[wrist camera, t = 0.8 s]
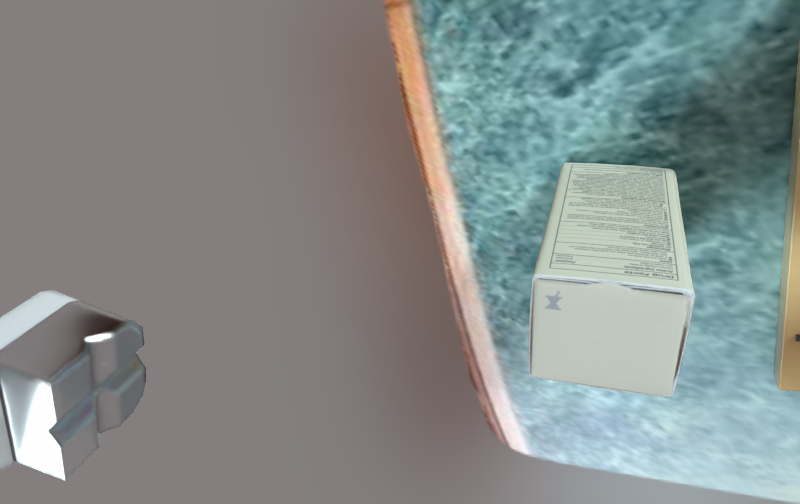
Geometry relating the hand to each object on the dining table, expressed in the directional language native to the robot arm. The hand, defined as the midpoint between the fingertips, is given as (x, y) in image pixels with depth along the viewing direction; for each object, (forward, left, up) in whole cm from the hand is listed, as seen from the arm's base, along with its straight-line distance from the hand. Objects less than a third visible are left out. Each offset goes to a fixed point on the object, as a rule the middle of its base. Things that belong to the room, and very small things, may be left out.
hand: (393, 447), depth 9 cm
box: (+7, +2, -24) cm, 25 cm away
